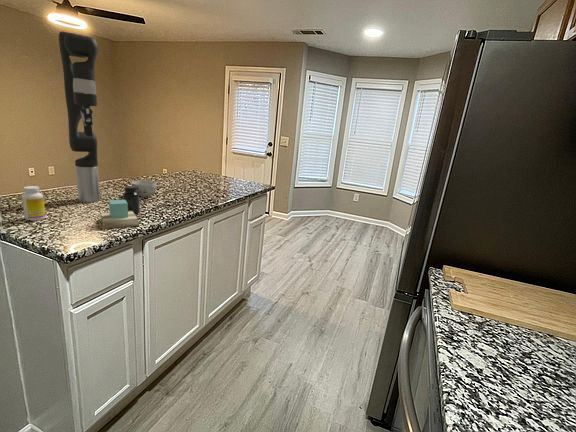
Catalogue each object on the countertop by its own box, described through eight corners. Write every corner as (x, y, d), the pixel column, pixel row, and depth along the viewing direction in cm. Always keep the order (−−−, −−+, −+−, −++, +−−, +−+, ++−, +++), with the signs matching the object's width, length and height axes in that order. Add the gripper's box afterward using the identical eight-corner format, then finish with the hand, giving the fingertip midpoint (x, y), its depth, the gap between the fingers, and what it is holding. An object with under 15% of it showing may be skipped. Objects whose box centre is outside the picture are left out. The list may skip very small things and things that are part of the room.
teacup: (127, 195, 171) (126, 181, 169) (146, 192, 182) (146, 179, 180) (145, 200, 165) (144, 186, 163) (164, 197, 175) (164, 183, 173)
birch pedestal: (101, 219, 131) (100, 212, 130) (132, 217, 137) (132, 210, 137) (104, 228, 121) (103, 221, 121) (137, 225, 128) (137, 218, 127)
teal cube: (109, 214, 129) (108, 200, 127) (125, 213, 133) (125, 199, 131) (111, 218, 125) (110, 204, 123) (128, 217, 128) (127, 203, 126)
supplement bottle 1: (50, 218, 126) (46, 187, 123) (32, 222, 120) (28, 189, 117) (38, 215, 128) (34, 184, 125) (20, 219, 122) (15, 187, 118)
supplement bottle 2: (143, 212, 146) (142, 187, 143) (130, 215, 140) (129, 189, 137) (132, 209, 149) (131, 184, 145) (120, 212, 143) (118, 186, 139)
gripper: (72, 91, 123) (76, 133, 128) (74, 90, 112) (78, 136, 117) (94, 94, 128) (97, 134, 132) (98, 93, 117) (101, 137, 121)
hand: (88, 135), depth 125 cm, fingers open, 8 cm apart
